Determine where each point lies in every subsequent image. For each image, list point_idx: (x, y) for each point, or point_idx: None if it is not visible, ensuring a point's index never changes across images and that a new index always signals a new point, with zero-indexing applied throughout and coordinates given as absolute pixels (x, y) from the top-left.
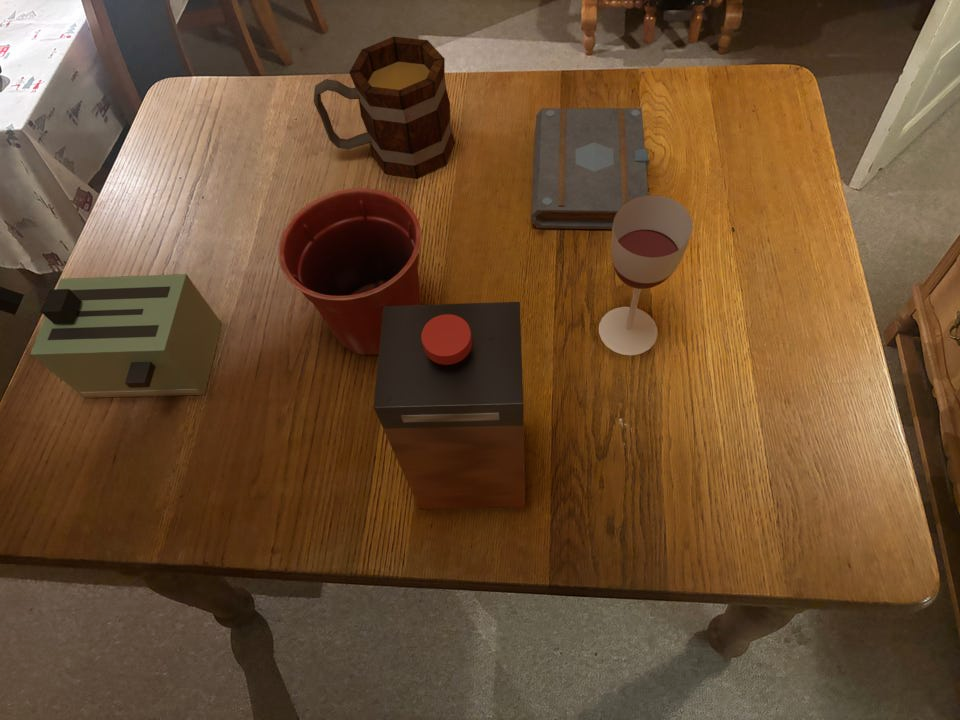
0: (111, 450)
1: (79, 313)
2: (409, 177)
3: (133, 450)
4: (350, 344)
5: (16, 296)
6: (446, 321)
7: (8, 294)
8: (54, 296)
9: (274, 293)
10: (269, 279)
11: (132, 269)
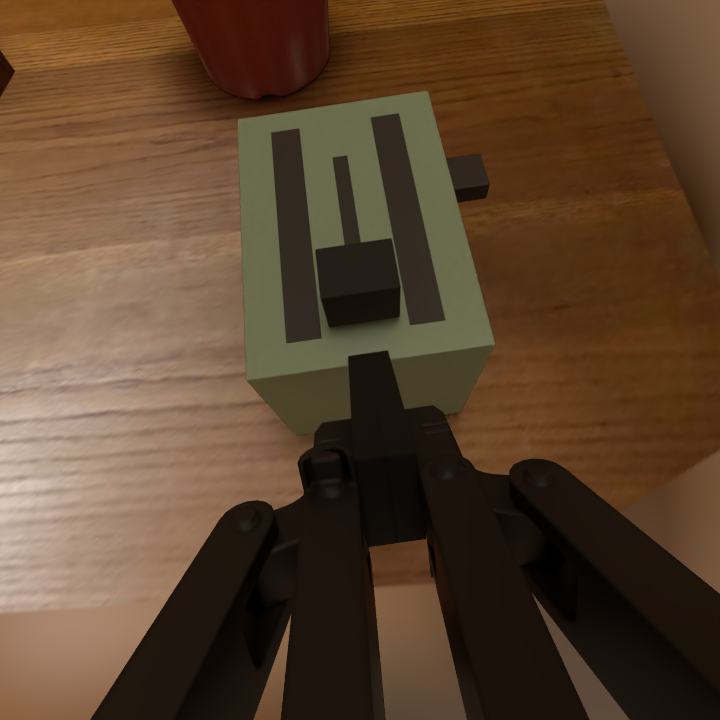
0: (548, 319)
1: None
2: (9, 79)
3: (537, 284)
4: (325, 34)
5: (363, 360)
6: None
7: (367, 368)
8: (344, 272)
9: (220, 185)
10: (191, 199)
11: (146, 450)
